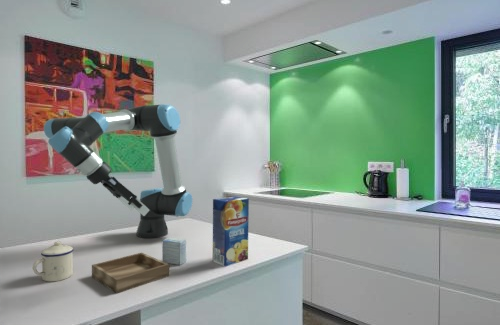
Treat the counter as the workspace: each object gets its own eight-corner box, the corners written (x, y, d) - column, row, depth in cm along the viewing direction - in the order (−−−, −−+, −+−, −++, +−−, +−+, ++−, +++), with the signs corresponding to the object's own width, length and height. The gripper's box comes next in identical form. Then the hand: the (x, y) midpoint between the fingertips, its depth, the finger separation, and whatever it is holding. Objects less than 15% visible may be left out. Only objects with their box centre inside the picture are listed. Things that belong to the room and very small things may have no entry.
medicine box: (186, 261, 121) (186, 239, 120) (180, 265, 116) (180, 242, 116) (168, 259, 123) (168, 237, 123) (162, 262, 119) (162, 240, 119)
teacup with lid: (63, 269, 111) (63, 236, 111) (79, 275, 107) (79, 240, 106) (25, 281, 101) (25, 245, 100) (41, 288, 96) (40, 250, 96)
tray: (91, 276, 105) (91, 264, 105) (141, 263, 118) (141, 252, 118) (116, 293, 93) (116, 279, 93) (169, 276, 106) (169, 264, 106)
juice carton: (224, 266, 116) (225, 201, 115) (212, 261, 121) (212, 199, 120) (248, 259, 124) (248, 198, 123) (235, 254, 130) (236, 196, 129)
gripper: (78, 174, 111) (121, 213, 121) (94, 179, 92) (144, 224, 101) (94, 159, 115) (136, 198, 124) (113, 161, 95) (160, 206, 104)
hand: (140, 210), depth 113 cm, fingers open, 13 cm apart
